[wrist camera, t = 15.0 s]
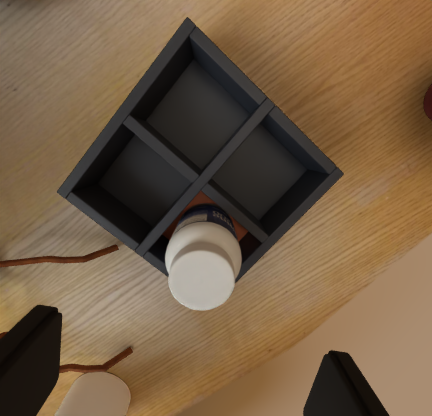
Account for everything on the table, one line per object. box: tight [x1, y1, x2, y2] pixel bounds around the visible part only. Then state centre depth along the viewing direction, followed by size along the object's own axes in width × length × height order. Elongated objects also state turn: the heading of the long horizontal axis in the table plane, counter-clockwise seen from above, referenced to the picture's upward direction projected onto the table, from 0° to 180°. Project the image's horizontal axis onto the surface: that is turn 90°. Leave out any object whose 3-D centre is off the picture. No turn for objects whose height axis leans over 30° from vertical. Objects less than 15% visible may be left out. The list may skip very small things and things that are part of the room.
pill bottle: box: [165, 203, 242, 310], centre depth 19 cm, size 5×5×10 cm
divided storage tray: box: [57, 17, 344, 283], centre depth 21 cm, size 15×15×5 cm
